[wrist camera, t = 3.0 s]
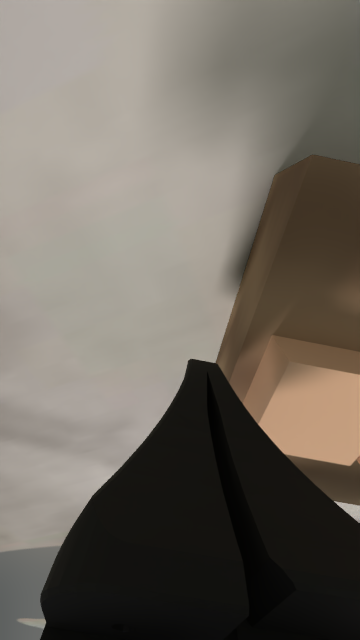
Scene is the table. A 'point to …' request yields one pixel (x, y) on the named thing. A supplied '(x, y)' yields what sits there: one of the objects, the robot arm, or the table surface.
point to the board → (302, 286)
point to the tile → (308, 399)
